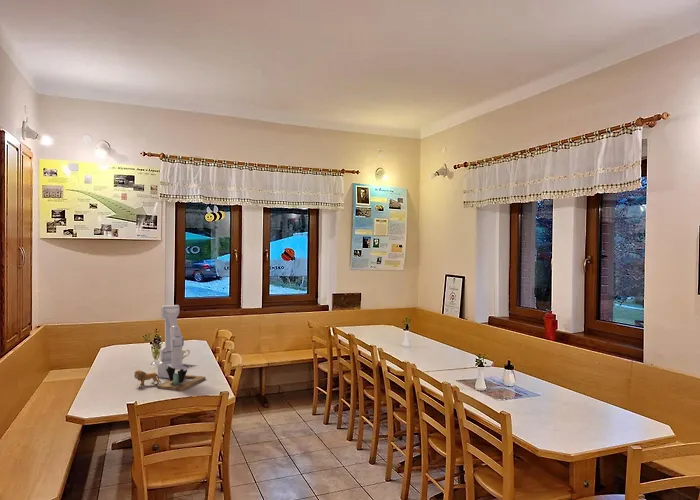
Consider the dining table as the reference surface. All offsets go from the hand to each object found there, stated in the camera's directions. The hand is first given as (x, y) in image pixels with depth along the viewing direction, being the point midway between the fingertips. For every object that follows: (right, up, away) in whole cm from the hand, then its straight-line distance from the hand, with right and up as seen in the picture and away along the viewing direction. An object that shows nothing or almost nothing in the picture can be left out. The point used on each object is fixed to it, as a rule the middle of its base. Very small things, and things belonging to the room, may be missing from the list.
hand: (176, 381), depth 279 cm
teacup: (-16, -2, +47) cm, 50 cm away
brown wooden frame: (+1, -3, +5) cm, 6 cm away
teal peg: (0, -3, 0) cm, 3 cm away
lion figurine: (-17, -3, +1) cm, 18 cm away
